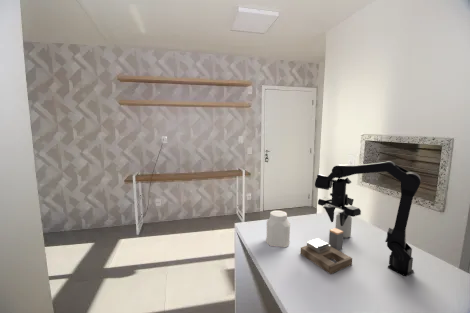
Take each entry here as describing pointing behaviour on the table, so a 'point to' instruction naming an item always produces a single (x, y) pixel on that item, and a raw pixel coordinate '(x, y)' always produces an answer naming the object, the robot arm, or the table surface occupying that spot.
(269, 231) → the jar
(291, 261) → the table surface
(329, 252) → the socket board
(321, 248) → the panel
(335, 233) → the plug
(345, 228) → the can
